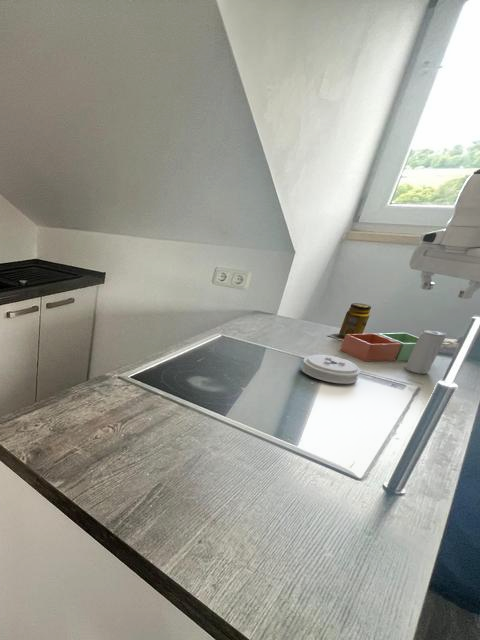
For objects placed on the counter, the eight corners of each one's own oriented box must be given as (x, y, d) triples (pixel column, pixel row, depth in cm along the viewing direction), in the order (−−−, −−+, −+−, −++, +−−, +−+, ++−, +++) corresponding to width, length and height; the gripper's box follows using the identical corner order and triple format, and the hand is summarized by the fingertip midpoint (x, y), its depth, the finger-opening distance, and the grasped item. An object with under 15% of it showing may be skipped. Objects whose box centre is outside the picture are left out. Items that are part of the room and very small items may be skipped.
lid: (320, 364, 118) (325, 349, 116) (367, 382, 107) (374, 365, 105) (289, 370, 114) (294, 355, 112) (334, 389, 103) (341, 373, 101)
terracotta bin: (368, 349, 127) (374, 333, 125) (394, 360, 119) (401, 343, 116) (339, 349, 127) (345, 333, 125) (363, 361, 119) (370, 344, 116)
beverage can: (421, 368, 113) (439, 330, 108) (432, 375, 109) (451, 335, 104) (401, 366, 115) (418, 328, 110) (410, 373, 111) (428, 334, 106)
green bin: (398, 348, 127) (405, 332, 125) (427, 360, 119) (435, 343, 116) (370, 349, 127) (377, 333, 125) (396, 360, 119) (404, 343, 116)
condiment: (367, 340, 134) (380, 306, 129) (347, 342, 132) (359, 308, 128) (345, 333, 141) (357, 301, 136) (326, 335, 139) (337, 303, 134)
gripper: (534, 242, 85) (504, 303, 91) (438, 233, 104) (418, 284, 110) (505, 243, 85) (476, 304, 91) (414, 234, 104) (395, 285, 110)
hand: (444, 293), depth 100 cm, fingers open, 8 cm apart
